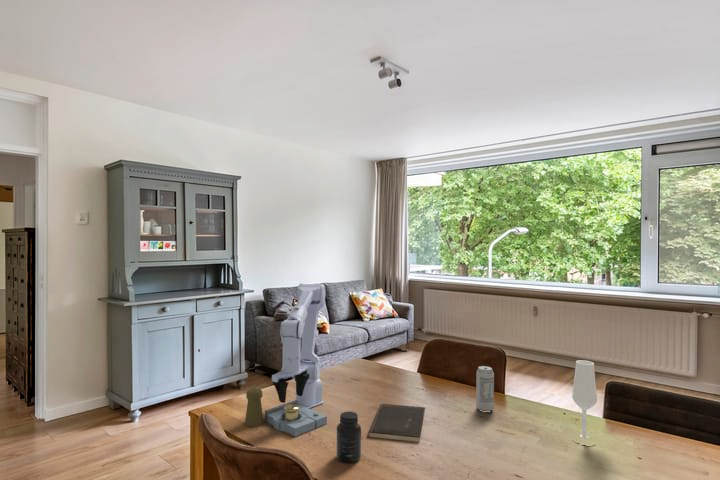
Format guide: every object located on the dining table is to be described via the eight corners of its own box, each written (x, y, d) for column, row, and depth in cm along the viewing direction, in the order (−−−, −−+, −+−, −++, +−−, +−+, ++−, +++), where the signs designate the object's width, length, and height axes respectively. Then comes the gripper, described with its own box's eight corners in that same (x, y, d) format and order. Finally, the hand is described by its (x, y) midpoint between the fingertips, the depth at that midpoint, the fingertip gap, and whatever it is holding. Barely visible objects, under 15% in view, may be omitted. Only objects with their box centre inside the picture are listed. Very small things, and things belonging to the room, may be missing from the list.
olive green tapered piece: (259, 427, 138) (259, 393, 138) (241, 425, 139) (241, 391, 139) (266, 419, 144) (266, 386, 144) (249, 418, 145) (249, 385, 145)
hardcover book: (425, 413, 152) (425, 407, 152) (420, 444, 129) (420, 436, 129) (380, 409, 155) (380, 403, 155) (367, 438, 133) (367, 431, 133)
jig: (296, 410, 152) (296, 400, 152) (326, 423, 141) (326, 413, 141) (262, 422, 142) (262, 411, 142) (292, 437, 131) (292, 426, 131)
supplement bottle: (335, 452, 123) (336, 409, 123) (359, 451, 123) (360, 409, 123) (336, 464, 116) (337, 420, 116) (362, 463, 117) (362, 419, 117)
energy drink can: (491, 407, 157) (492, 365, 157) (495, 413, 151) (495, 370, 151) (474, 406, 158) (475, 365, 158) (477, 412, 152) (478, 370, 152)
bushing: (297, 421, 143) (297, 403, 143) (300, 427, 138) (300, 409, 138) (282, 423, 141) (282, 405, 141) (285, 430, 136) (285, 411, 136)
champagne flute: (587, 448, 127) (588, 366, 126) (566, 439, 133) (567, 360, 132) (601, 443, 130) (602, 363, 130) (580, 434, 136) (582, 358, 136)
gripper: (299, 350, 149) (299, 389, 149) (265, 359, 137) (265, 401, 138) (314, 354, 144) (313, 394, 144) (280, 363, 133) (280, 407, 133)
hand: (291, 398), depth 141 cm, fingers open, 7 cm apart
